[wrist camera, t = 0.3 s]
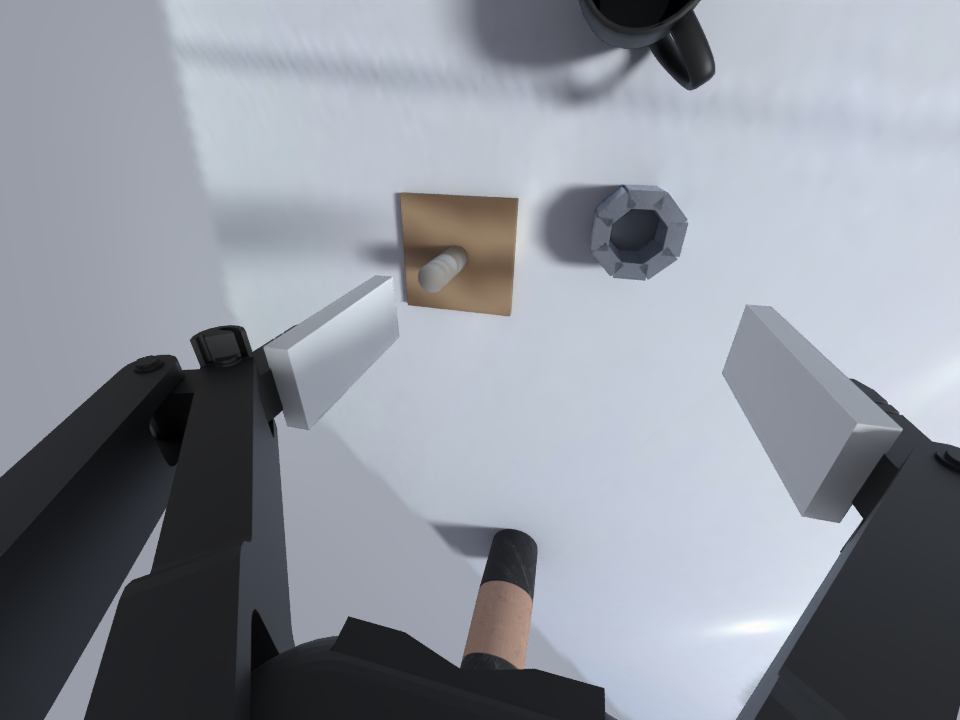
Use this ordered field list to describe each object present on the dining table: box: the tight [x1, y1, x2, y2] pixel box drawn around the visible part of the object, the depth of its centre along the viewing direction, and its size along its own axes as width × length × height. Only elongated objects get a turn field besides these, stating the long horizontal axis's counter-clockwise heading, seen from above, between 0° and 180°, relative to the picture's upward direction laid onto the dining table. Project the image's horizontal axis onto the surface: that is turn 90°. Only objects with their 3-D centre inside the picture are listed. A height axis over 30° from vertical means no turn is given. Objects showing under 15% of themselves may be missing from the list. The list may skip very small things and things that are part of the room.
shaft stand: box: [400, 193, 518, 316], centre depth 39 cm, size 12×12×9 cm
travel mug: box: [460, 529, 537, 670], centre depth 54 cm, size 8×8×20 cm
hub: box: [591, 185, 688, 280], centre depth 35 cm, size 7×7×5 cm
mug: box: [579, 0, 715, 90], centre depth 26 cm, size 8×12×10 cm
